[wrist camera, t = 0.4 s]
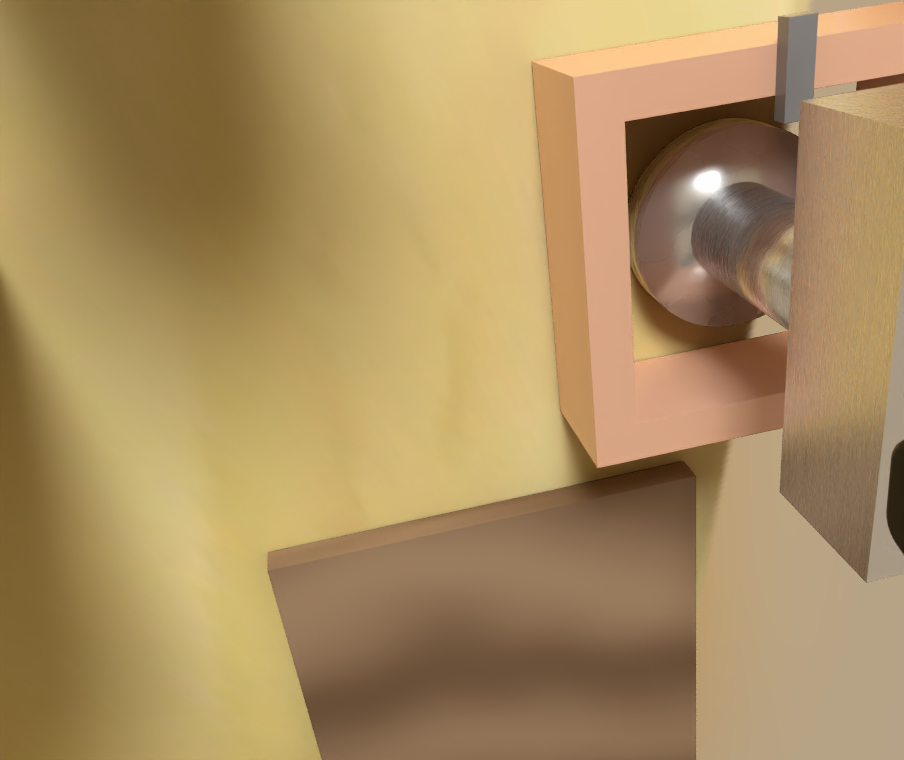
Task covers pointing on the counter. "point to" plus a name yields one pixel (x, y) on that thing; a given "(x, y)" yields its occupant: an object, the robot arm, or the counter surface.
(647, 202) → the t key
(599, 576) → the walnut board
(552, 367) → the counter surface
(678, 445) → the socket collar
